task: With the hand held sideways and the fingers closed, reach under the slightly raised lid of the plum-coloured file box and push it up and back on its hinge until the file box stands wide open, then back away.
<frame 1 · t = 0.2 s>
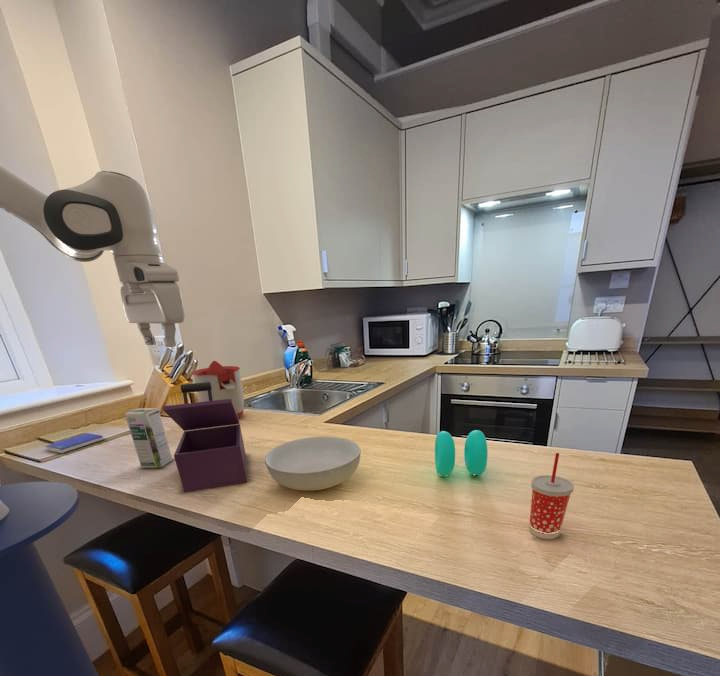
hand: (160, 345, 85), 30 cm above the counter, tool pointing down, fingers open, 8 cm apart
hard drive: (76, 445, 121), on the counter
serving bowl: (316, 481, 88), on the counter
pair of teal ovoids: (458, 475, 87), on the counter
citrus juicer: (227, 419, 139), on the counter
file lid: (204, 406, 91), point 16 cm above the counter, hinge at 30.0°
beverage cup: (543, 532, 66), on the counter
file box: (217, 472, 96), on the counter
syrup box: (157, 464, 103), on the counter
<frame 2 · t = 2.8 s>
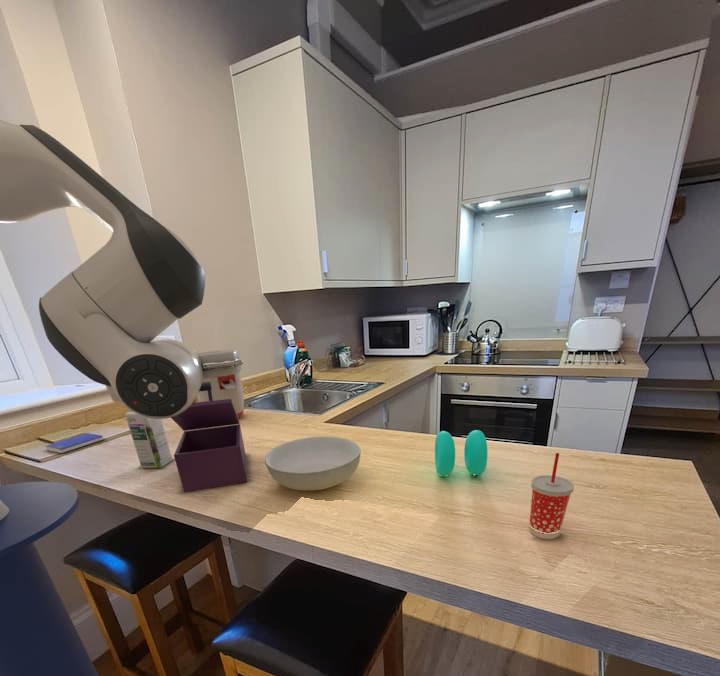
hand: (179, 363, 69), 28 cm above the counter, tool horizontal, fingers open, 8 cm apart
nothing on the counter moved.
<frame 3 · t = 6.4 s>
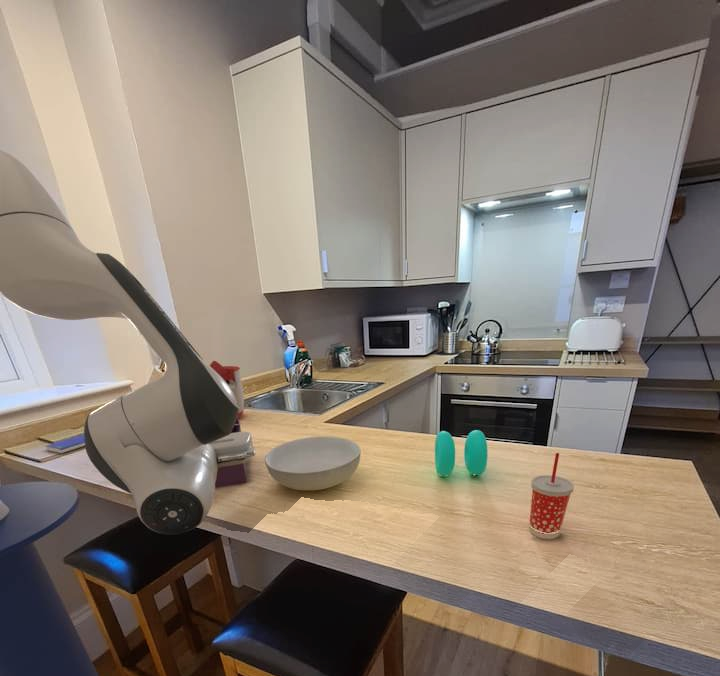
hand: (196, 438, 73), 15 cm above the counter, tool horizontal, fingers closed
nothing on the counter moved.
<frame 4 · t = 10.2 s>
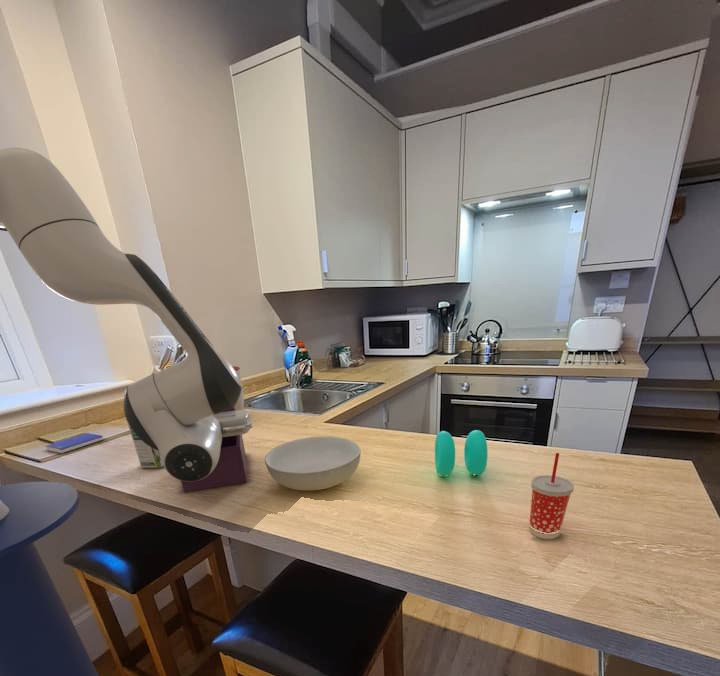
hand: (204, 416, 88), 14 cm above the counter, tool horizontal, fingers closed
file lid: (203, 404, 91), point 16 cm above the counter, hinge at 32.5°, touching gripper
everything else where it was.
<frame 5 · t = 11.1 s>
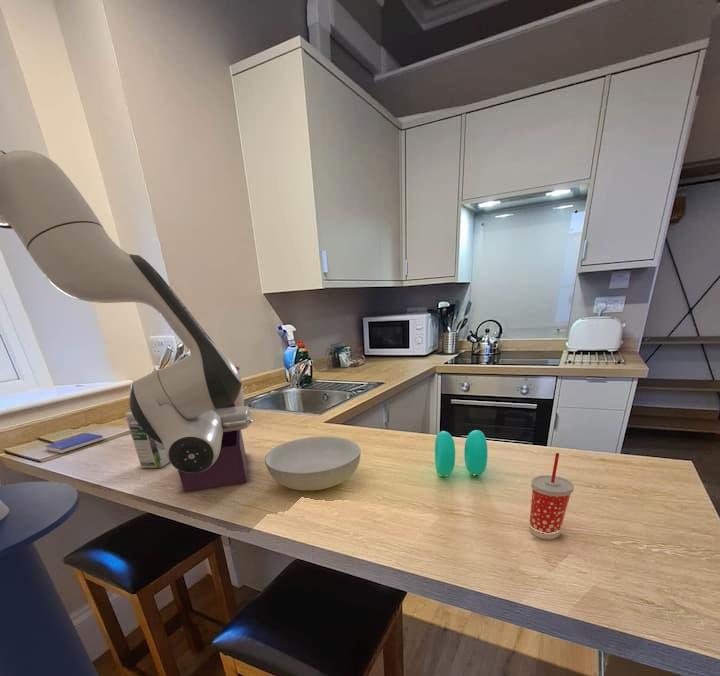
hand: (205, 412, 91), 14 cm above the counter, tool horizontal, fingers closed
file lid: (203, 397, 92), point 18 cm above the counter, hinge at 44.8°
everything else where it was.
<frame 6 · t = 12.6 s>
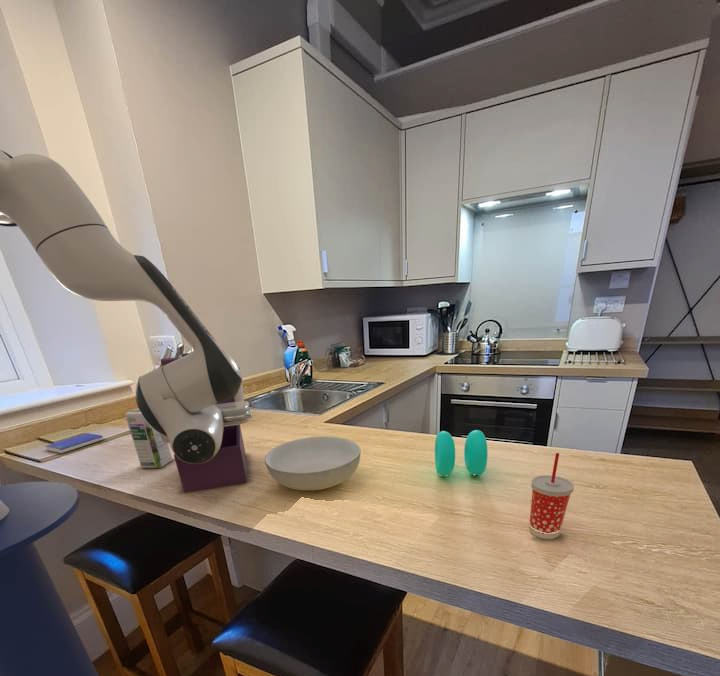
hand: (207, 407, 95), 15 cm above the counter, tool horizontal, fingers closed, pressing on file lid
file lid: (203, 388, 95), point 19 cm above the counter, hinge at 71.4°, touching gripper
everything else where it was.
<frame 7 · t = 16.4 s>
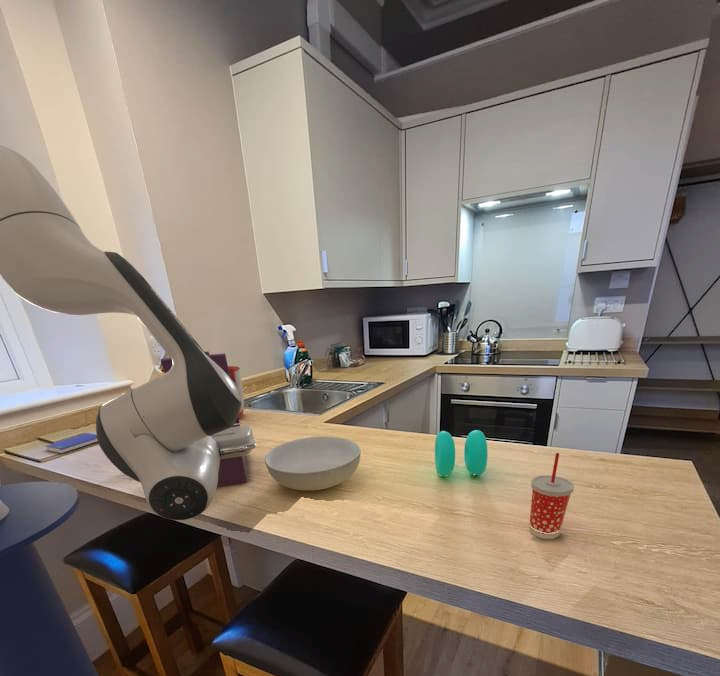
hand: (199, 433, 76), 15 cm above the counter, tool horizontal, fingers closed
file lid: (203, 388, 95), point 19 cm above the counter, hinge at 71.4°
everything else where it was.
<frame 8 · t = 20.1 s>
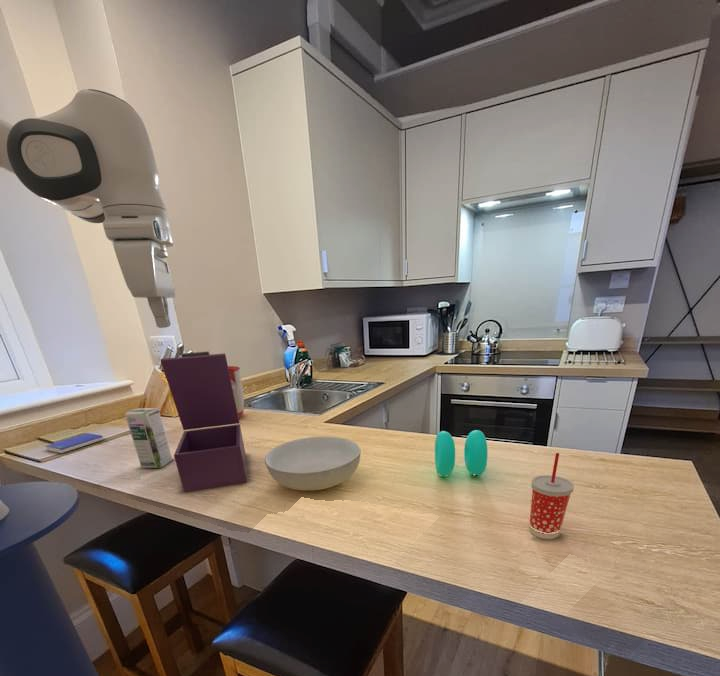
hand: (164, 327, 67), 34 cm above the counter, tool pointing down, fingers closed
nothing on the counter moved.
at the end: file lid at +71° (first picture: +30°); the gripper is holding nothing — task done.
